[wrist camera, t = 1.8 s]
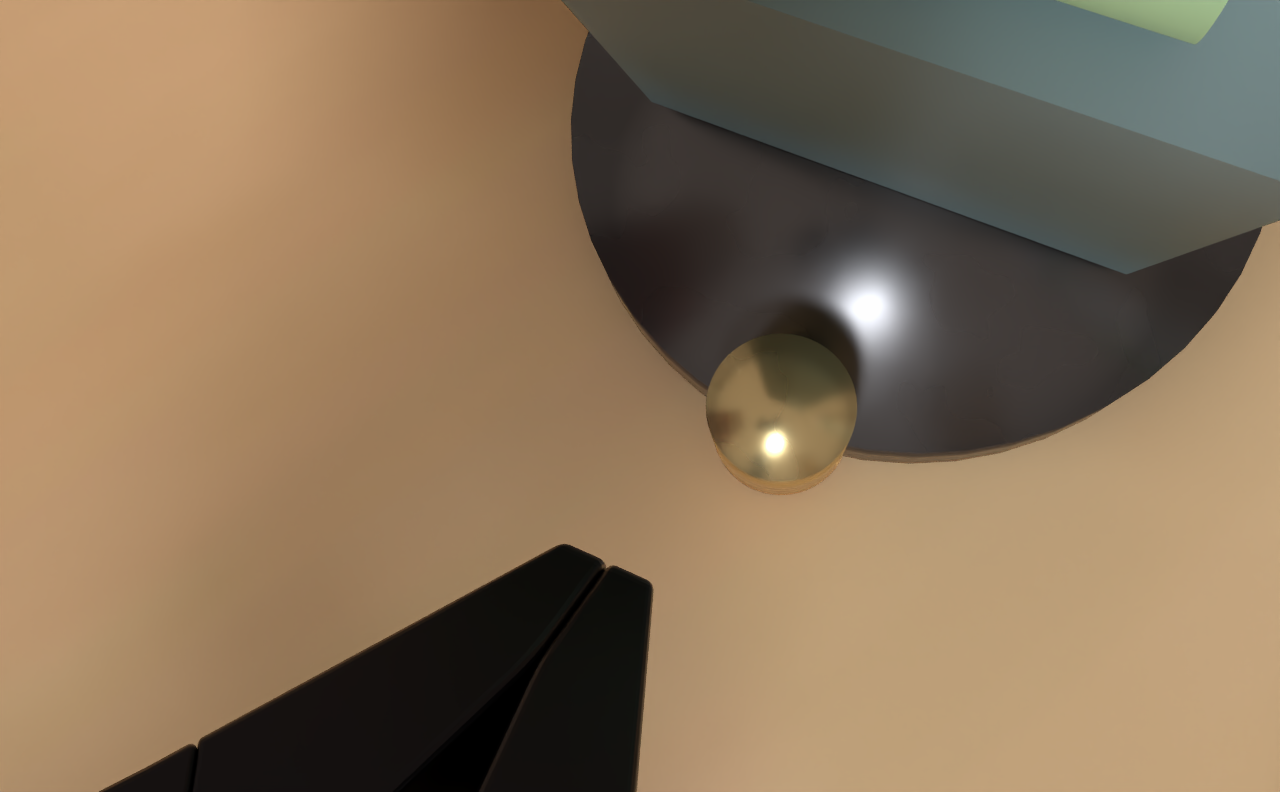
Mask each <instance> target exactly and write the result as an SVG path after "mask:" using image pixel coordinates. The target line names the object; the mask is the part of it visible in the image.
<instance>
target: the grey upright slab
mask: <svg viewBox="0 0 1280 792" xmlns="http://www.w3.org/2000/svg"><path fill="white" fill-rule="evenodd" d="M562 1H563V3H564V4H565V5H566V6H567V7H568V8H569V9H570V10H571V12H572V13H573V14H574V15H575V16H576V17H577V18H578V19H579V21H580V22H581V23H582V24H583V25H584V26H585V27H586V29H587V30H588V31H589V32H590V33H591V34H592V35H593V36H594V38H595V39H596V40H597V41H598V42H599V43H600V44H601V45H602V47H603V48H604V49H605V50H606V51H607V52H608V53H609V54H610V56H611V57H612V58H613V59H614V60H615V61H616V62H617V63H618V65H619V66H620V67H621V68H622V69H623V70H624V71H625V72H626V74H627V75H628V76H629V77H630V78H631V79H632V80H633V82H634V83H635V84H636V85H637V86H638V87H639V88H640V89H641V91H642V92H643V93H644V94H645V95H646V96H647V97H648V98H649V100H650V101H651V102H653V103H656V104H659V105H661V106H664V107H667V108H670V109H672V110H675V111H678V112H681V113H683V114H686V115H689V116H692V117H694V118H697V119H700V120H703V121H705V122H708V123H711V124H714V125H716V126H719V127H722V128H725V129H727V130H730V131H733V132H736V133H738V134H741V135H744V136H747V137H749V138H752V139H755V140H758V141H760V142H763V143H766V144H769V145H771V146H774V147H777V148H780V149H782V150H785V151H788V152H791V153H793V154H796V155H799V156H802V157H804V158H807V159H810V160H813V161H815V162H818V163H821V164H824V165H826V166H829V167H832V168H835V169H837V170H840V171H843V172H846V173H848V174H851V175H854V176H857V177H859V178H862V179H865V180H868V181H870V182H873V183H876V184H879V185H881V186H884V187H887V188H890V189H892V190H895V191H898V192H901V193H903V194H906V195H909V196H912V197H914V198H917V199H920V200H923V201H925V202H928V203H931V204H934V205H936V206H939V207H942V208H945V209H947V210H950V211H953V212H956V213H958V214H961V215H964V216H967V217H970V218H972V219H975V220H978V221H981V222H983V223H986V224H989V225H992V226H994V227H997V228H1000V229H1003V230H1005V231H1008V232H1011V233H1014V234H1016V235H1019V236H1022V237H1025V238H1027V239H1030V240H1033V241H1036V242H1038V243H1041V244H1044V245H1047V246H1049V247H1052V248H1055V249H1058V250H1060V251H1063V252H1066V253H1069V254H1071V255H1074V256H1077V257H1080V258H1082V259H1085V260H1088V261H1091V262H1093V263H1096V264H1099V265H1102V266H1104V267H1107V268H1110V269H1113V270H1115V271H1118V272H1121V273H1124V274H1129V273H1132V272H1135V271H1138V270H1141V269H1143V268H1146V267H1149V266H1152V265H1155V264H1157V263H1160V262H1163V261H1166V260H1169V259H1172V258H1174V257H1177V256H1180V255H1183V254H1186V253H1189V252H1191V251H1194V250H1197V249H1200V248H1203V247H1206V246H1208V245H1211V244H1214V243H1217V242H1220V241H1223V240H1225V239H1228V238H1231V237H1234V236H1237V235H1240V234H1242V233H1245V232H1248V231H1251V230H1254V229H1257V228H1259V227H1262V226H1265V225H1268V224H1271V223H1274V222H1276V221H1279V220H1280V0H562Z"/></svg>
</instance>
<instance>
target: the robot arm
mask: <svg viewBox="0 0 1280 792" xmlns="http://www.w3.org/2000/svg"><path fill="white" fill-rule="evenodd" d="M652 602H653V586H652V584H651V583H650V582H649V581H648V580H646V579H644V578H642V577H639V576H637V575H635V574H633V573H631V572H628V571H626V570H624V569H622V568H620V567H617V566H610V567H608V568H607V569H606V565H605V563H604V562H603V561H602V560H601V559H600V558H597V557H595V556H593V555H591V554H589V553H586V552H584V551H582V550H580V549H578V548H575V547H573V546H571V545H568V544H561V545H557V546H555V547H553V548H551V549H550V550H548V551H546V552H544V553H542V554H540V555H539V556H537V557H535V558H533V559H531V560H529V561H527V562H526V563H524V564H522V565H520V566H518V567H516V568H515V569H513V570H511V571H509V572H507V573H505V574H503V575H502V576H500V577H498V578H496V579H494V580H492V581H491V582H489V583H487V584H485V585H483V586H481V587H479V588H478V589H476V590H474V591H472V592H470V593H468V594H467V595H465V596H463V597H461V598H459V599H457V600H455V601H454V602H452V603H450V604H448V605H446V606H444V607H442V608H441V609H439V610H437V611H435V612H433V613H431V614H430V615H428V616H426V617H424V618H422V619H420V620H418V621H417V622H415V623H413V624H411V625H409V626H407V627H406V628H404V629H402V630H400V631H398V632H396V633H394V634H393V635H391V636H389V637H387V638H385V639H383V640H382V641H380V642H378V643H376V644H374V645H372V646H370V647H369V648H367V649H365V650H363V651H361V652H359V653H358V654H356V655H354V656H352V657H350V658H348V659H346V660H345V661H343V662H341V663H339V664H337V665H335V666H334V667H332V668H330V669H328V670H326V671H324V672H322V673H321V674H319V675H317V676H315V677H313V678H311V679H310V680H308V681H306V682H304V683H302V684H300V685H298V686H297V687H295V688H293V689H291V690H289V691H287V692H285V693H284V694H282V695H280V696H278V697H276V698H274V699H273V700H271V701H269V702H267V703H265V704H263V705H261V706H260V707H258V708H256V709H254V710H252V711H250V712H249V713H247V714H245V715H243V716H241V717H239V718H237V719H236V720H234V721H232V722H230V723H228V724H226V725H224V726H223V727H221V728H219V729H217V730H215V731H213V732H212V733H210V734H208V735H206V736H204V737H202V738H201V739H200V740H199V743H198V748H197V747H196V746H195V745H193V744H188V745H186V746H185V747H183V748H181V749H179V750H177V751H175V752H174V753H172V754H170V755H168V756H166V757H164V758H163V759H161V760H159V761H157V762H155V763H153V764H152V765H150V766H148V767H146V768H144V769H142V770H140V771H138V772H136V773H134V774H133V775H131V776H129V777H127V778H125V779H123V780H121V781H119V782H117V783H115V784H113V785H111V786H109V787H107V788H105V789H103V790H101V791H99V792H637V780H638V769H639V757H640V745H641V733H642V721H643V709H644V697H645V685H646V674H647V662H648V650H649V638H650V626H651V614H652Z"/></svg>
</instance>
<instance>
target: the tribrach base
mask: <svg viewBox="0 0 1280 792" xmlns="http://www.w3.org/2000/svg"><path fill="white" fill-rule="evenodd" d="M571 133H572V162H573V168H574V174H575V180H576V186H577V192H578V198H579V203H580V206H581V209H582V212H583V215H584V219H585V222H586V225H587V228H588V231H589V234H590V238H591V241H592V243H593V245H594V247H595V249H596V251H597V253H598V256H599V258H600V260H601V262H602V264H603V266H604V268H605V270H606V272H607V274H608V277H609V279H610V281H611V283H612V285H613V287H614V289H615V291H616V293H617V295H618V297H619V299H620V301H621V302H622V304H623V305H624V307H625V308H626V310H627V311H628V313H629V314H630V316H631V317H632V319H633V321H634V322H635V324H636V325H637V327H638V328H639V330H640V331H641V333H642V334H643V335H644V336H645V338H646V339H647V340H648V341H649V342H650V343H651V344H652V346H653V347H654V348H655V349H656V350H657V351H658V352H659V354H660V355H661V356H662V357H663V358H664V359H665V361H666V362H667V363H668V364H669V365H670V366H671V367H672V368H673V369H675V370H676V371H677V372H678V373H679V374H680V375H681V376H682V377H684V378H685V379H686V380H687V381H688V382H689V383H690V384H692V385H693V386H694V387H695V388H696V389H697V390H698V391H700V392H701V393H702V394H704V395H705V396H707V400H706V415H707V421H708V426H709V429H710V432H711V435H712V438H713V441H714V443H715V446H716V449H717V452H718V454H719V456H720V458H721V460H722V462H723V463H724V465H725V467H726V468H727V469H728V470H729V471H730V473H731V474H732V475H733V476H734V477H735V478H737V479H738V480H739V481H740V482H742V483H743V484H745V485H746V486H748V487H750V488H752V489H754V490H757V491H760V492H763V493H768V494H775V495H788V494H794V493H799V492H802V491H805V490H808V489H810V488H812V487H814V486H816V485H817V484H819V483H820V482H822V481H823V480H824V479H826V478H827V477H828V476H829V475H830V474H831V473H832V472H833V471H834V469H835V468H836V467H837V465H838V464H839V462H840V460H841V458H842V456H846V457H851V458H856V459H861V460H870V461H883V462H896V463H927V462H947V461H958V460H964V459H969V458H975V457H980V456H986V455H991V454H997V453H1001V452H1004V451H1008V450H1011V449H1014V448H1017V447H1020V446H1023V445H1026V444H1030V443H1033V442H1036V441H1039V440H1042V439H1045V438H1047V437H1049V436H1051V435H1053V434H1056V433H1058V432H1060V431H1062V430H1064V429H1066V428H1068V427H1070V426H1073V425H1075V424H1077V423H1079V422H1081V421H1083V420H1085V419H1087V418H1089V417H1090V416H1092V415H1093V414H1095V413H1096V412H1098V411H1100V410H1101V409H1103V408H1104V407H1106V406H1108V405H1109V404H1111V403H1112V402H1114V401H1115V400H1117V399H1118V398H1120V397H1121V396H1123V395H1125V394H1126V393H1128V392H1129V391H1131V390H1132V389H1134V388H1135V387H1137V386H1139V385H1140V384H1142V383H1143V382H1145V381H1146V380H1148V379H1149V378H1150V377H1151V376H1153V375H1154V374H1155V373H1156V372H1157V371H1158V370H1160V369H1161V368H1162V367H1163V366H1164V365H1165V364H1167V363H1168V362H1169V361H1170V360H1171V359H1172V358H1174V357H1175V356H1176V355H1177V354H1178V353H1179V352H1181V351H1182V350H1183V349H1184V348H1185V347H1186V346H1187V345H1188V344H1189V342H1190V341H1191V340H1192V339H1193V338H1194V337H1195V336H1196V335H1197V333H1198V332H1199V331H1200V330H1201V329H1202V328H1203V327H1204V325H1205V324H1206V323H1207V322H1208V321H1209V320H1210V319H1211V317H1212V316H1213V315H1214V314H1215V313H1216V311H1217V310H1218V308H1219V307H1220V305H1221V304H1222V302H1223V301H1224V299H1225V298H1226V296H1227V295H1228V293H1229V292H1230V290H1231V289H1232V287H1233V285H1234V284H1235V282H1236V281H1237V279H1238V278H1239V276H1240V275H1241V273H1242V271H1243V269H1244V267H1245V264H1246V262H1247V260H1248V258H1249V256H1250V254H1251V251H1252V249H1253V247H1254V245H1255V243H1256V241H1257V238H1258V236H1259V234H1260V232H1261V228H1262V227H1259V228H1257V229H1254V230H1251V231H1248V232H1245V233H1242V234H1240V235H1237V236H1234V237H1231V238H1228V239H1225V240H1223V241H1220V242H1217V243H1214V244H1211V245H1208V246H1206V247H1203V248H1200V249H1197V250H1194V251H1191V252H1189V253H1186V254H1183V255H1180V256H1177V257H1174V258H1172V259H1169V260H1166V261H1163V262H1160V263H1157V264H1155V265H1152V266H1149V267H1146V268H1143V269H1141V270H1138V271H1135V272H1132V273H1129V274H1124V273H1121V272H1118V271H1115V270H1113V269H1110V268H1107V267H1104V266H1102V265H1099V264H1096V263H1093V262H1091V261H1088V260H1085V259H1082V258H1080V257H1077V256H1074V255H1071V254H1069V253H1066V252H1063V251H1060V250H1058V249H1055V248H1052V247H1049V246H1047V245H1044V244H1041V243H1038V242H1036V241H1033V240H1030V239H1027V238H1025V237H1022V236H1019V235H1016V234H1014V233H1011V232H1008V231H1005V230H1003V229H1000V228H997V227H994V226H992V225H989V224H986V223H983V222H981V221H978V220H975V219H972V218H970V217H967V216H964V215H961V214H958V213H956V212H953V211H950V210H947V209H945V208H942V207H939V206H936V205H934V204H931V203H928V202H925V201H923V200H920V199H917V198H914V197H912V196H909V195H906V194H903V193H901V192H898V191H895V190H892V189H890V188H887V187H884V186H881V185H879V184H876V183H873V182H870V181H868V180H865V179H862V178H859V177H857V176H854V175H851V174H848V173H846V172H843V171H840V170H837V169H835V168H832V167H829V166H826V165H824V164H821V163H818V162H815V161H813V160H810V159H807V158H804V157H802V156H799V155H796V154H793V153H791V152H788V151H785V150H782V149H780V148H777V147H774V146H771V145H769V144H766V143H763V142H760V141H758V140H755V139H752V138H749V137H747V136H744V135H741V134H738V133H736V132H733V131H730V130H727V129H725V128H722V127H719V126H716V125H714V124H711V123H708V122H705V121H703V120H700V119H697V118H694V117H692V116H689V115H686V114H683V113H681V112H678V111H675V110H672V109H670V108H667V107H664V106H661V105H659V104H656V103H653V102H651V101H650V100H649V98H648V97H647V96H646V95H645V94H644V93H643V92H642V91H641V89H640V88H639V87H638V86H637V85H636V84H635V83H634V82H633V80H632V79H631V78H630V77H629V76H628V75H627V74H626V72H625V71H624V70H623V69H622V68H621V67H620V66H619V65H618V63H617V62H616V61H615V60H614V59H613V58H612V57H611V56H610V54H609V53H608V52H607V51H606V50H605V49H604V48H603V47H602V45H601V44H600V43H599V42H598V41H597V40H596V39H595V38H594V36H593V35H592V34H591V33H590V32H589V33H588V35H587V38H586V40H585V44H584V48H583V52H582V56H581V60H580V64H579V68H578V72H577V76H576V81H575V90H574V99H573V107H572V116H571Z"/></svg>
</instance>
